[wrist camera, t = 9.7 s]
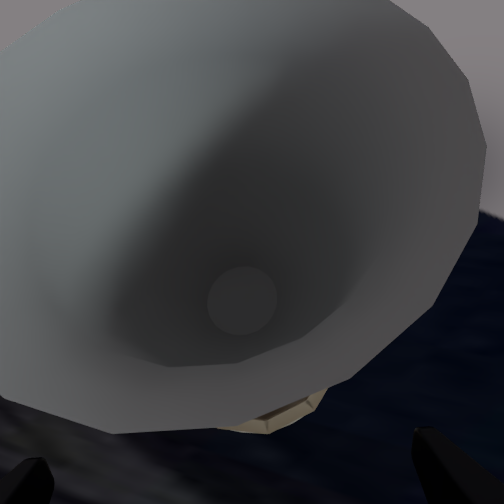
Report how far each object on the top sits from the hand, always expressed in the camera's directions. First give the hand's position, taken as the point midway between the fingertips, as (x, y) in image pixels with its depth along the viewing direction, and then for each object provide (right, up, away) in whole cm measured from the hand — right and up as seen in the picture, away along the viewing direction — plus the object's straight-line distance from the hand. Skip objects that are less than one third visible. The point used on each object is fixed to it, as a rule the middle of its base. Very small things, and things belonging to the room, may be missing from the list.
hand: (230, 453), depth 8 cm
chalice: (0, -1, +13) cm, 13 cm away
